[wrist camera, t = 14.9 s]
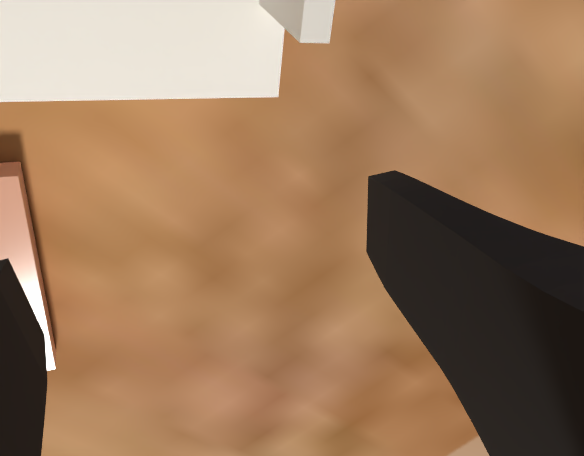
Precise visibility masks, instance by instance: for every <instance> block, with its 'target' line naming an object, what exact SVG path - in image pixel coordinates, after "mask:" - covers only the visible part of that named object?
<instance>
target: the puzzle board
mask: <svg viewBox="0 0 584 456" xmlns="http://www.w3.org/2000/svg"><path fill="white" fill-rule="evenodd" d="M334 6H335V0H0V102H19V101H77V100H135V99H193V98H250V97H278V93H279V82H280V72H281V61H282V50H283V39H284V28H285V29H286V30H287V31H288V32H289V33H290V34H291V35H292V36H293V37H294V38H295V39H297V40H298V41H299V42H300V43H329V42H330V35H331V28H332V20H333V13H334Z"/></svg>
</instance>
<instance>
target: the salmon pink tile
mask: <svg viewBox="0 0 584 456" xmlns="http://www.w3.org/2000/svg"><path fill="white" fill-rule="evenodd" d="M7 258H8V259H9V261H10V263H11V265H12V267H13V269H14V271H15V273H16V276H17V278H18V280H19V282H20V284H21V286H22V288H23V290H24V292H25V294H26V297H27V299H28V301H29V303H30V305H31V307H32V309H33V311H34V313H35V315H36V318H37V320H38V322H39V324H40V326H41V328H42V330H43V332H44V334H45V346H46V362H47V370H53V369H55V368H56V348H55V343H54V338H53V333H52V327H51V322H50V317H49V311H48V306H47V301H46V295H45V290H44V285H43V279H42V274H41V269H40V264H39V258H38V253H37V248H36V242H35V237H34V232H33V226H32V221H31V216H30V211H29V205H28V200H27V195H26V189H25V184H24V179H23V173H22V168H21V163H20V162H4V163H0V260H3V259H7Z"/></svg>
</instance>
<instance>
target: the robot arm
mask: <svg viewBox="0 0 584 456" xmlns="http://www.w3.org/2000/svg"><path fill="white" fill-rule="evenodd" d="M367 254H368V256H369V258H370V260H371V262H372V264H373V266H374V268H375V270H376V272H377V274H378V276H379V278H380V280H381V282H382V284H383V285H384V287H385V289H386V291H387V292H388V294H389V295H390V297H391V298H392V299H393V301H394V302H395V304H396V305H397V307H398V308H399V310H400V311H401V312H402V314H403V315H404V317H405V318H406V320H407V321H408V322H409V324H410V325H411V327H412V328H413V329H414V331H415V332H416V334H417V335H418V337H419V338H420V339H421V341H422V342H423V344H424V345H425V346H426V348H427V349H428V351H429V352H430V354H431V355H432V356H433V358H434V359H435V361H436V362H437V363H438V365H439V366H440V368H441V369H442V371H443V373H444V374H445V376H446V377H447V379H448V380H449V382H450V383H451V385H452V387H453V389H454V391H455V392H456V394H457V396H458V398H459V400H460V401H461V403H462V405H463V407H464V409H465V410H466V412H467V414H468V416H469V418H470V419H471V421H472V423H473V425H474V427H475V429H476V431H477V433H478V434H479V436H480V438H481V440H482V442H483V444H484V446H485V448H486V450H487V452H488V453H489V455H490V456H584V247H583V246H580V245H577V244H573V243H570V242H567V241H564V240H561V239H558V238H554V237H551V236H548V235H545V234H542V233H539V232H537V231H534V230H531V229H528V228H526V227H523V226H521V225H518V224H515V223H513V222H510V221H508V220H505V219H503V218H500V217H498V216H495V215H493V214H491V213H488V212H486V211H484V210H481V209H479V208H477V207H475V206H472V205H470V204H468V203H466V202H464V201H462V200H459V199H457V198H455V197H453V196H451V195H449V194H447V193H444V192H442V191H440V190H438V189H436V188H434V187H432V186H430V185H427V184H425V183H423V182H421V181H419V180H417V179H415V178H412V177H410V176H408V175H405V174H403V173H400V172H398V171H395V170H394V171H390V172H386V173H381V174H377V175H372V176H368V213H367ZM46 393H47V362H46V346H45V334H44V332H43V330H42V328H41V326H40V324H39V322H38V320H37V318H36V315H35V313H34V311H33V309H32V307H31V305H30V303H29V301H28V299H27V297H26V294H25V292H24V290H23V288H22V286H21V284H20V282H19V280H18V278H17V276H16V273H15V271H14V269H13V267H12V265H11V263H10V261H9V259H8V258H7V259H3V260H0V456H41V449H42V438H43V428H44V416H45V405H46Z"/></svg>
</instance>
